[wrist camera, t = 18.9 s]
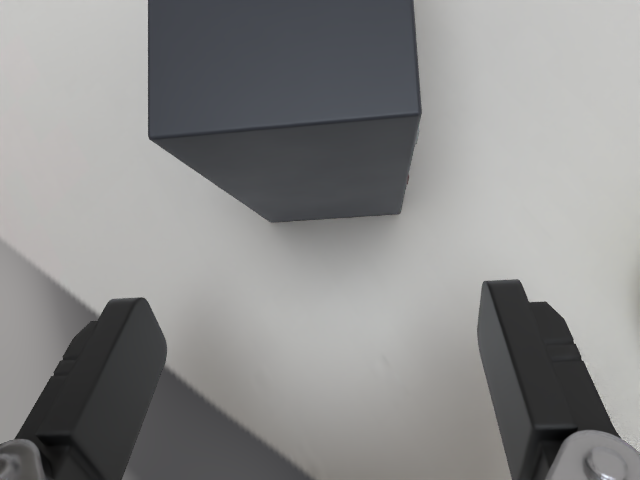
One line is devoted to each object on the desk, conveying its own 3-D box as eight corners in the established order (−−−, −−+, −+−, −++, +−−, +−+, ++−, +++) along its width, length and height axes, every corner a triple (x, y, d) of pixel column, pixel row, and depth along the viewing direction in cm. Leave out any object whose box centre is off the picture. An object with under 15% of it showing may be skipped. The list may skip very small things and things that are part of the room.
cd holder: (404, 214, 18) (430, 113, 8) (266, 222, 19) (140, 139, 9) (387, -33, 19) (392, -372, 10) (258, -17, 20) (140, -320, 10)
